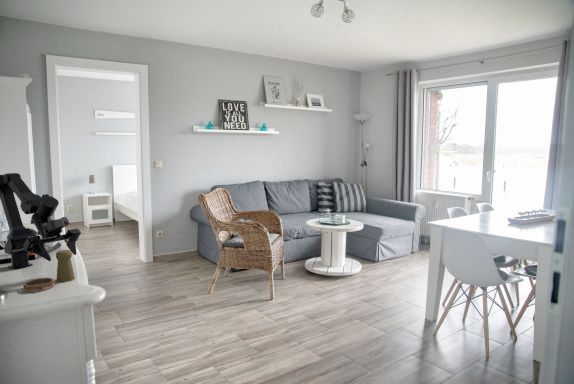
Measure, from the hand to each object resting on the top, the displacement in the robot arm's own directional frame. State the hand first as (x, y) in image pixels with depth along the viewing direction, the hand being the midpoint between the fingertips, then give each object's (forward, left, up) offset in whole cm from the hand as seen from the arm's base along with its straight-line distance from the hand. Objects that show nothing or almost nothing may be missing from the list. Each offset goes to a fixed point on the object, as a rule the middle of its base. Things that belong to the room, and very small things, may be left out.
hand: (63, 257), depth 147 cm
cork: (0, 0, -8) cm, 8 cm away
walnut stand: (+1, -10, -8) cm, 13 cm away
